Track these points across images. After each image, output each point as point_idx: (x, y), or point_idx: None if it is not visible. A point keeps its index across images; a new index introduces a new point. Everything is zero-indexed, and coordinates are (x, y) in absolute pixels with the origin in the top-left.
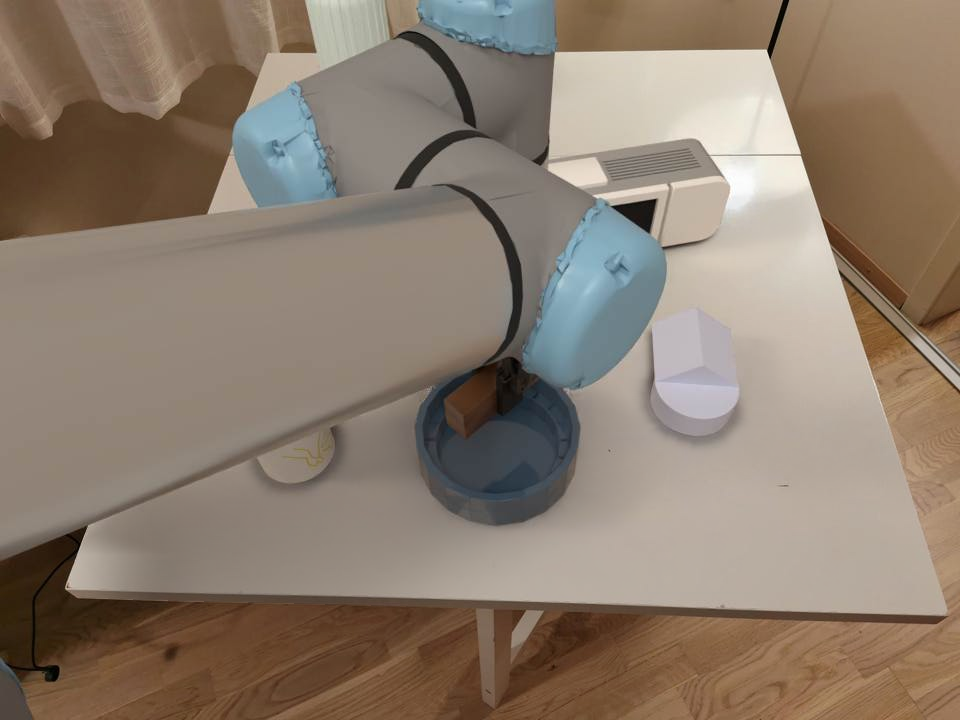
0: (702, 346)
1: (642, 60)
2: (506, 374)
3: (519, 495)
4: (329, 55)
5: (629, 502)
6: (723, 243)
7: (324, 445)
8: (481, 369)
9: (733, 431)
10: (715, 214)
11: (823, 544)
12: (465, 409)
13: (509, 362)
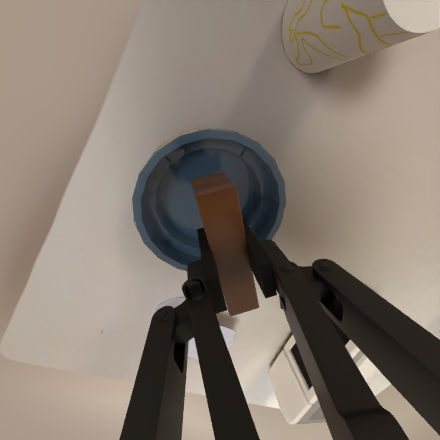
0: (193, 358)
1: (389, 384)
2: (195, 292)
3: (136, 195)
4: None
5: (128, 256)
6: (262, 369)
7: (302, 45)
8: (247, 247)
9: (148, 326)
10: (277, 391)
11: (55, 331)
12: (203, 203)
13: (194, 322)
